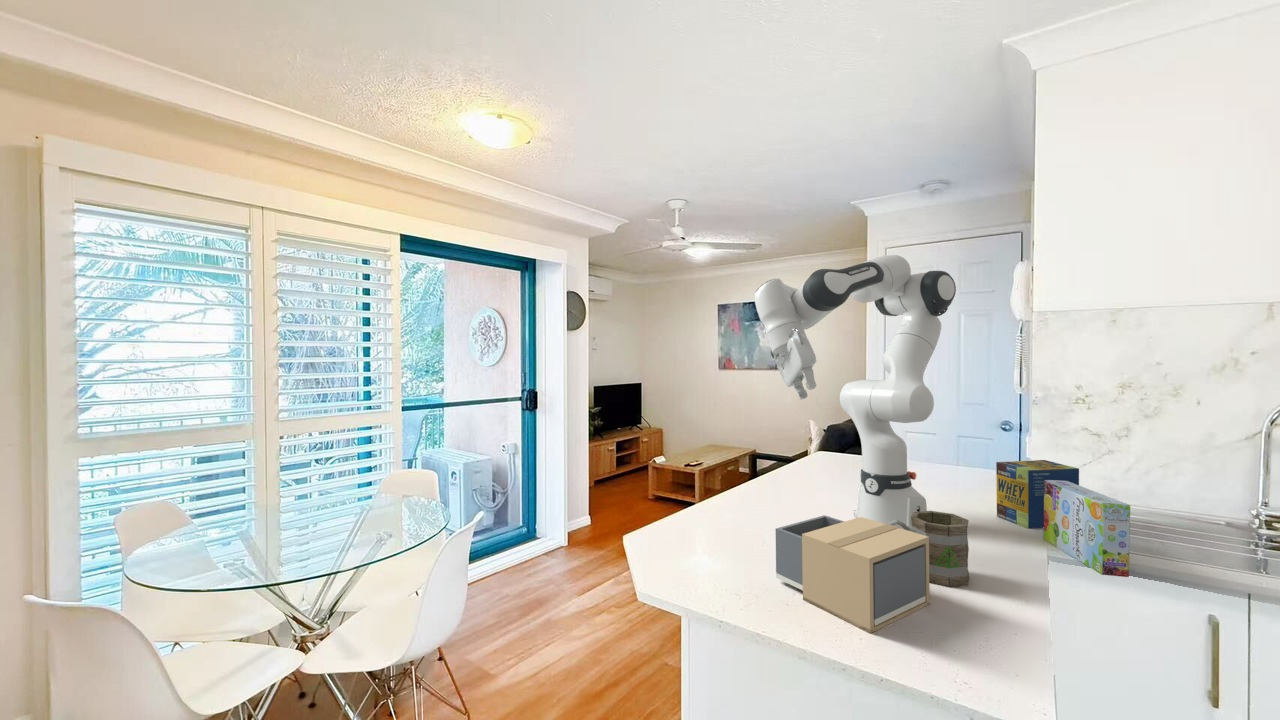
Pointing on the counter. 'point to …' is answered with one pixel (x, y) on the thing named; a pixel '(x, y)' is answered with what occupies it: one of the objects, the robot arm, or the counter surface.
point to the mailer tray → (892, 577)
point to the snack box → (1088, 526)
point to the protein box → (1027, 489)
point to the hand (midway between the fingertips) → (808, 393)
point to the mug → (943, 546)
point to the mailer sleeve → (854, 567)
